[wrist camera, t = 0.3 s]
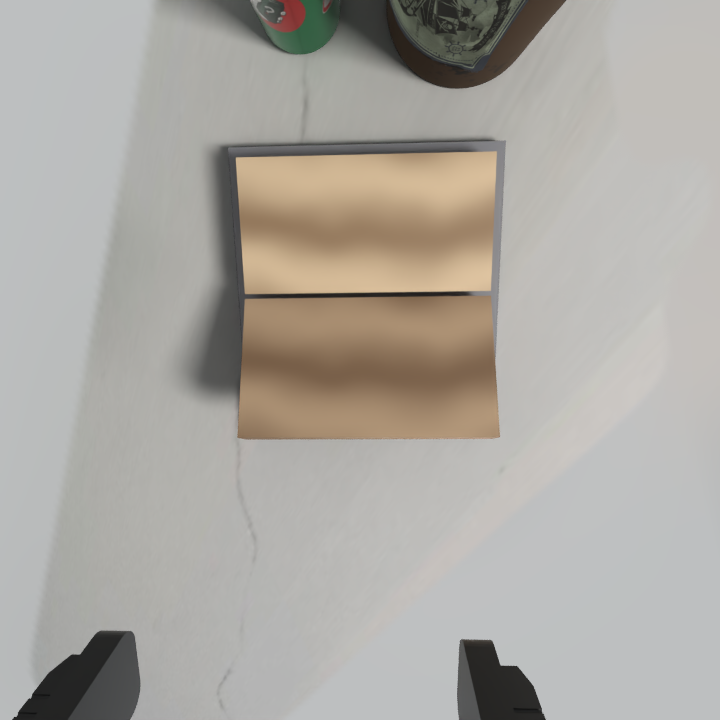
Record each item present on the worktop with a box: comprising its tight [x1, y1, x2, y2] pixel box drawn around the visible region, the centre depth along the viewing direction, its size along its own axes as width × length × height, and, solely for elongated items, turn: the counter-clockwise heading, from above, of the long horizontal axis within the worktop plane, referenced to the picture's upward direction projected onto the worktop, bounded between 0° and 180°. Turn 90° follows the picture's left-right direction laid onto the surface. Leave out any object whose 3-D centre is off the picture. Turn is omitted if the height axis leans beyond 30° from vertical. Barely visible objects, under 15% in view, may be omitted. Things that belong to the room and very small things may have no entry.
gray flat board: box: [228, 141, 506, 357], centre depth 34 cm, size 20×18×1 cm
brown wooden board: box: [238, 296, 500, 439], centre depth 31 cm, size 9×16×2 cm, turn 91°
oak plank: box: [236, 151, 497, 294], centre depth 31 cm, size 8×16×2 cm, turn 91°
